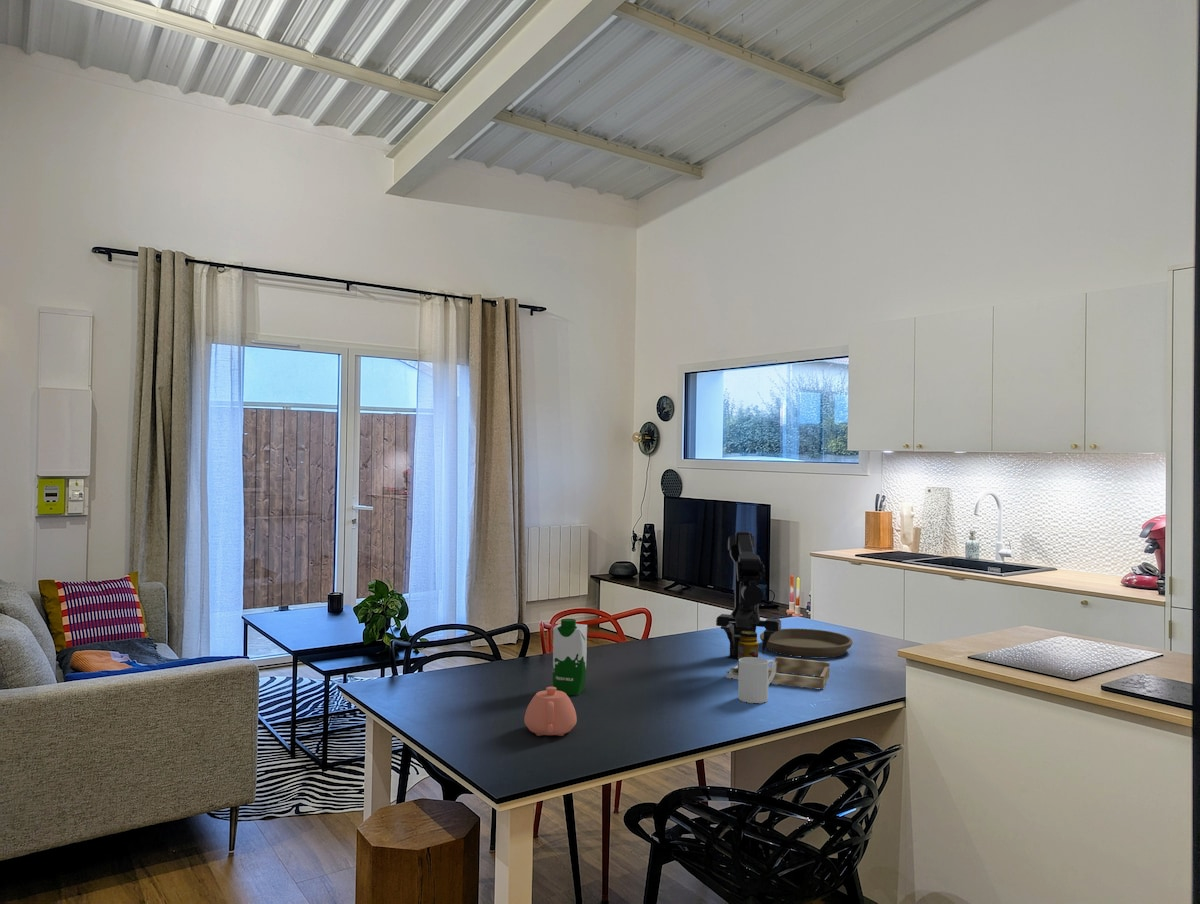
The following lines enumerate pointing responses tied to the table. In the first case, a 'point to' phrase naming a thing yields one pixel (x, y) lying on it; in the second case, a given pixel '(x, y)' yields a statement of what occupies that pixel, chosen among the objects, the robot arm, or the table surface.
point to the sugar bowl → (550, 713)
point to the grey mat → (732, 675)
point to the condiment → (746, 647)
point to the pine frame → (800, 672)
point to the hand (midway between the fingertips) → (748, 651)
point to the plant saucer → (808, 642)
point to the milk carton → (569, 656)
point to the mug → (754, 679)
